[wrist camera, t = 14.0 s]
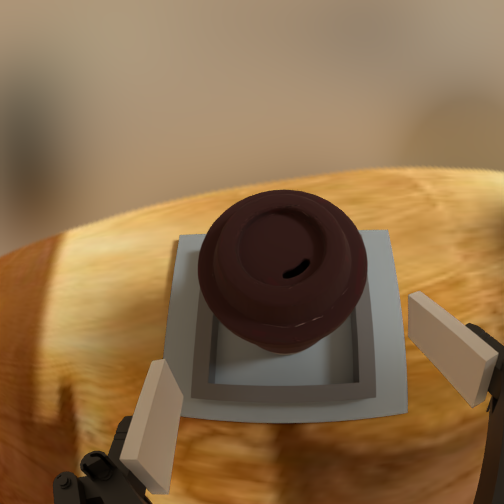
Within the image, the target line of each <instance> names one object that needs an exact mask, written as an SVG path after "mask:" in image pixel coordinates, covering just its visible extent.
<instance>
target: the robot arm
mask: <svg viewBox="0 0 504 504" xmlns="http://www.w3.org/2000/svg"><path fill="white" fill-rule="evenodd" d="M408 337H409V338H410V339H411V340H412V341H413V342H414V344H415V345H416V346H417V347H418V348H419V349H420V350H421V351H422V352H423V353H424V354H425V355H426V356H427V358H428V359H429V360H430V361H431V362H432V363H433V364H434V365H435V366H436V367H437V369H438V370H439V371H440V372H441V373H442V374H443V375H444V376H445V377H446V379H447V380H448V381H449V382H450V383H451V384H452V385H453V386H454V388H455V389H456V390H457V391H458V392H459V393H460V394H461V396H462V397H463V398H464V399H465V400H466V401H467V403H468V404H469V405H470V406H471V407H472V408H473V407H475V406H477V405H478V404H480V403H481V402H483V401H484V400H485V398H486V395H487V392H489V393H490V394H491V395H492V397H491V400H490V402H489V405H488V408H487V411H486V412H488V411H489V409H490V412H489V423H488V432H487V440H486V447H485V453H484V459H483V464H482V469H481V474H480V479H479V483H478V488H477V492H476V496H475V499H474V503H473V504H504V346H503V345H502V344H500V343H499V342H498V341H497V340H495V339H494V338H493V337H492V336H491V337H490V335H489V334H488V333H485V331H484V330H483V329H481V328H480V327H479V326H477V325H474V324H471V323H468V324H466V325H464V324H462V323H461V322H460V321H459V320H457V319H456V318H455V317H453V316H452V315H451V314H450V313H448V312H447V311H446V310H444V309H443V308H442V307H441V306H439V305H438V304H437V303H435V302H434V301H433V300H431V299H430V298H429V297H427V296H426V295H425V294H423V293H422V292H421V291H417V292H415V293H412V294H409V295H408ZM183 397H184V396H183V394H182V392H181V390H180V388H179V386H178V384H177V382H176V380H175V378H174V376H173V374H172V372H171V370H170V368H169V366H168V364H167V362H166V359H160V360H154V361H152V362H151V365H150V368H149V371H148V374H147V376H146V379H145V382H144V385H143V388H142V391H141V394H140V397H139V399H138V402H137V405H136V408H135V411H134V414H133V416H125V417H124V418H123V420H122V421H121V422H120V423H119V425H118V428H117V430H116V434H115V436H114V440H113V442H112V445H111V448H110V451H109V454H108V456H107V455H106V454H105V453H104V452H102V451H93V452H90V453H88V454H87V455H85V456H84V458H83V459H82V460H81V464H80V468H81V470H82V471H83V472H84V473H85V474H86V475H87V476H85V477H79V478H77V477H76V476H75V475H74V474H73V473H72V472H63V473H60V474H59V475H58V476H57V477H56V478H55V480H54V482H53V493H54V504H152V502H151V501H150V500H149V499H148V497H146V496H145V491H146V488H147V489H148V490H149V491H150V492H151V493H152V494H169V489H170V481H171V474H172V467H173V460H174V453H175V447H176V440H177V434H178V427H179V421H180V415H181V409H182V403H183Z"/></svg>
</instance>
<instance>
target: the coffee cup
mask: <svg viewBox="0 0 504 504" xmlns="http://www.w3.org/2000/svg"><path fill="white" fill-rule="evenodd" d="M367 272H368V260H367V253H366V248H365V245H364V242H363V239H362V237H361V235H360V233H359V231H358V229H357V228H356V226H355V225H354V223H353V222H352V221H351V219H350V218H349V217H348V216H347V215H346V214H345V213H344V212H343V211H342V210H340V209H339V208H338V207H336V206H335V205H333V204H332V203H331V202H329V201H327V200H325V199H323V198H321V197H318V196H316V195H313V194H310V193H306V192H302V191H294V190H273V191H267V192H262V193H258V194H255V195H252V196H249V197H247V198H245V199H243V200H241V201H239V202H237V203H236V204H234V205H233V206H231V207H230V208H229V209H227V210H226V211H225V212H224V213H223V214H222V215H221V216H220V217H219V218H218V219H217V220H216V221H215V222H214V223H213V224H212V226H211V227H210V229H209V231H208V232H207V234H206V236H205V238H204V240H203V242H202V245H201V249H200V252H199V258H198V280H199V285H200V289H201V292H202V294H203V297H204V299H205V301H206V303H207V305H208V307H209V308H210V310H211V311H212V312H213V314H214V315H215V316H216V317H217V319H218V320H219V321H220V322H221V323H222V324H223V325H224V326H225V327H226V328H227V329H228V330H230V331H231V332H232V333H233V334H235V335H237V336H238V337H240V338H242V339H244V340H246V341H248V342H250V343H253V344H256V345H257V346H259V347H260V348H262V349H264V350H267V351H269V352H272V353H275V354H279V355H292V354H297V353H300V352H302V351H304V350H306V349H308V348H309V347H311V346H313V345H314V344H316V343H317V342H318V341H319V340H321V339H322V338H324V337H326V336H328V335H329V334H331V333H332V332H334V331H335V330H336V329H337V328H338V327H340V326H341V325H342V324H343V323H344V322H345V321H346V319H347V318H348V317H349V316H350V314H351V313H352V311H353V310H354V308H355V307H356V305H357V303H358V301H359V300H360V298H361V295H362V293H363V290H364V287H365V284H366V280H367Z"/></svg>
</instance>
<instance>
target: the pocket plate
mask: <svg viewBox="0 0 504 504" xmlns="http://www.w3.org/2000/svg"><path fill="white" fill-rule="evenodd" d="M358 231H359V233H360V235H361V237H362V239H363V242H364V245H365V248H366V253H367V260H368V272H367V280H366V284H365V287H364V290H363V293H362V295H361V298H360V300H359V301H358V303H357V305H356V307H355V308H354V310H353V311H352V313H351V314H350V316H349V317H348V318H347V319H346V321H345V322H344V323H343V324H342V325H341V326H340V327H338V328H337V329H336V330H335V331H334V332H332V333H331V334H329V335H328V336H326V337H324V338H322V339H321V340H319V341H318V342H317V343H316V344H314V345H313V346H311V347H309V348H308V349H306V350H304V351H302V352H300V353H297V354H292V355H279V354H275V353H272V352H269V351H267V350H264V349H262V348H260V347H259V346H257V345H256V344H253V343H250V342H248V341H246V340H244V339H242V338H240V337H238V336H237V335H235V334H233V333H232V332H231V331H230V330H228V329H227V328H226V327H225V326H224V325H223V324H222V323H221V322H220V321H219V320H218V319H217V317H216V316H215V315H214V314H213V312H212V311H211V310H210V308H209V307H208V305H207V303H206V301H205V299H204V297H203V294H202V292H201V289H200V285H199V280H198V258H199V252H200V249H201V245H202V242H203V240H204V238H205V236H206V234H195V235H180V237H179V243H178V249H177V255H176V262H175V268H174V275H173V282H172V289H171V296H170V303H169V311H168V319H167V327H166V336H165V346H164V355H163V359H166V362H167V364H168V366H169V368H170V370H171V372H172V374H173V376H174V378H175V380H176V382H177V384H178V386H179V388H180V390H181V392H182V394H183V396H184V397H183V403H182V409H181V415H180V416H182V417H190V418H199V419H209V420H220V421H234V422H254V423H312V422H332V421H346V420H357V419H366V418H375V417H383V416H390V415H397V414H403V413H408V391H407V368H406V352H405V340H404V330H403V320H402V312H401V304H400V296H399V289H398V283H397V276H396V270H395V264H394V259H393V253H392V248H391V243H390V238H389V233H388V230H358Z"/></svg>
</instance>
